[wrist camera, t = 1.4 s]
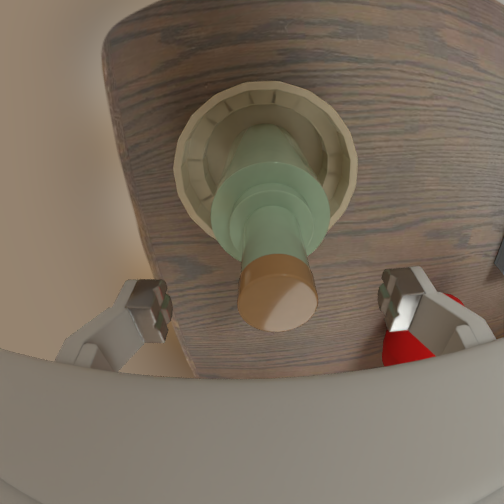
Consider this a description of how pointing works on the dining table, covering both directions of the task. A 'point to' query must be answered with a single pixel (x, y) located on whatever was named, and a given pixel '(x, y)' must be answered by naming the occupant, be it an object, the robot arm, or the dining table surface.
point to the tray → (500, 258)
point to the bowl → (263, 112)
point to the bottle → (271, 226)
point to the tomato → (405, 346)
